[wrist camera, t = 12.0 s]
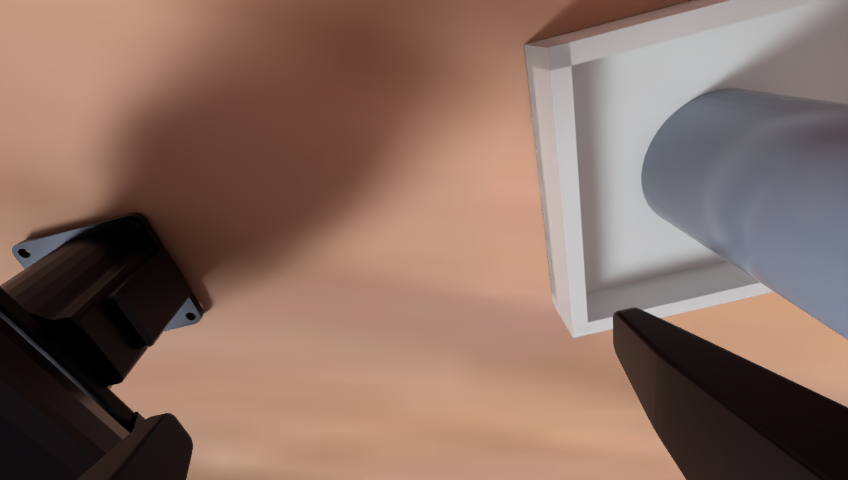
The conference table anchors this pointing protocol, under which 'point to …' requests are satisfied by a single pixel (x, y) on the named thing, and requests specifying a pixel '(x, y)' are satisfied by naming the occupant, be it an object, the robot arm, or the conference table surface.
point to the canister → (761, 190)
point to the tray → (636, 127)
